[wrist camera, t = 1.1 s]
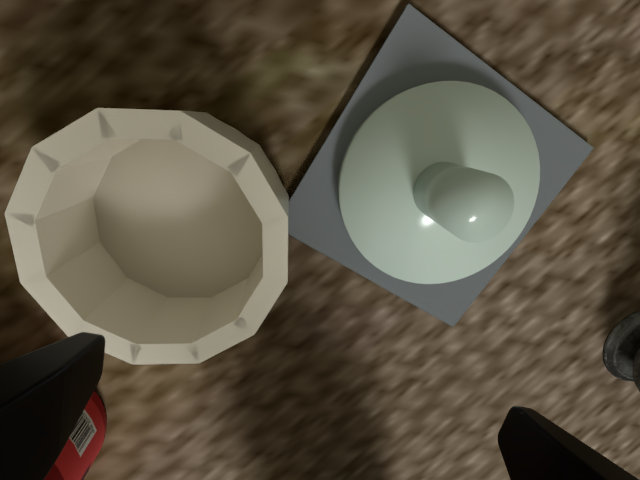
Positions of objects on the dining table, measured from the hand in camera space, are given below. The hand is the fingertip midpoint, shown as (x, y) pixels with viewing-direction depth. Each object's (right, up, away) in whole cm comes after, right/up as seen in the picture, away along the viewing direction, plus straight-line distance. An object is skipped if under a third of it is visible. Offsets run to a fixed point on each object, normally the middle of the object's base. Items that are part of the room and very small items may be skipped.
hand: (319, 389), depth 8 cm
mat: (+6, +6, +12) cm, 15 cm away
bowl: (-7, +4, +11) cm, 14 cm away
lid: (+6, +6, +11) cm, 14 cm away
